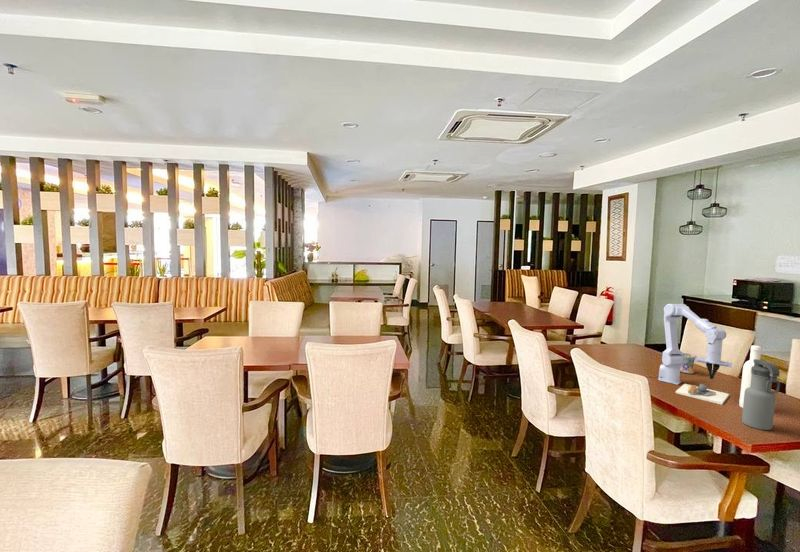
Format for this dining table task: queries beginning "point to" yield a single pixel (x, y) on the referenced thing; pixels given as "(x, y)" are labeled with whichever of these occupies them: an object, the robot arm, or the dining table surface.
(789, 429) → the dining table surface
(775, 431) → the dining table surface
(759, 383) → the water bottle
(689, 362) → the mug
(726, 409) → the dining table surface
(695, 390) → the grey metal bracket
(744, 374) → the bottle
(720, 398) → the base board
